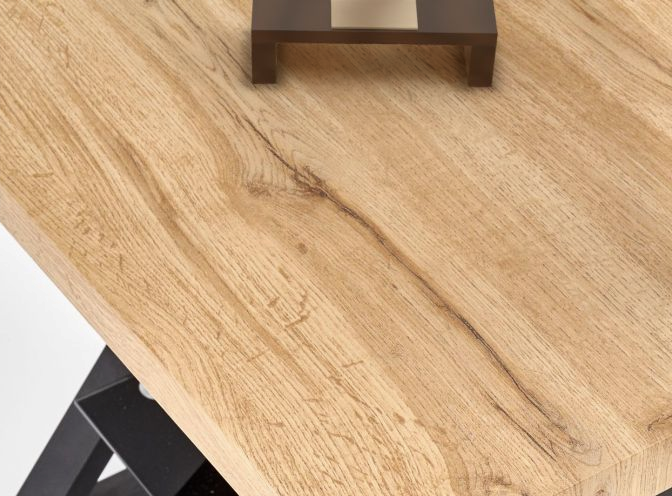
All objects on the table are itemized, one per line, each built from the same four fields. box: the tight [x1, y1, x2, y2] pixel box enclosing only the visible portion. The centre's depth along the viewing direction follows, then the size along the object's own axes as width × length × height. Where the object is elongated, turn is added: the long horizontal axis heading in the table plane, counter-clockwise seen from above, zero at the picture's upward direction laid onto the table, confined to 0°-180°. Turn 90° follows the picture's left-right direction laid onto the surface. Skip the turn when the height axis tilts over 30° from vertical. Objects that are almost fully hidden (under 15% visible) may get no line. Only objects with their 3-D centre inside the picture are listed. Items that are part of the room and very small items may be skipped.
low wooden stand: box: [250, 0, 499, 88], centre depth 132 cm, size 20×8×5 cm, turn 90°
